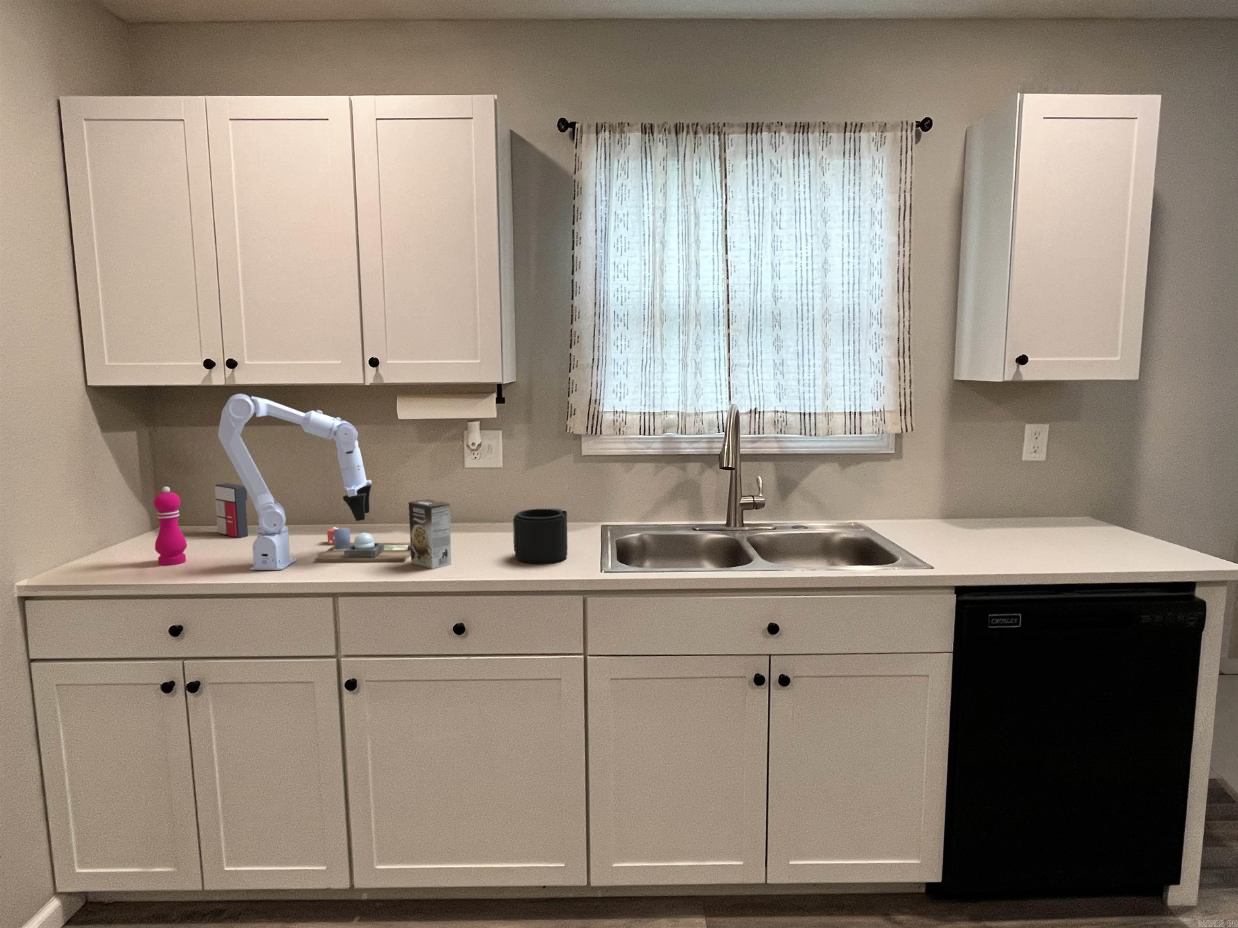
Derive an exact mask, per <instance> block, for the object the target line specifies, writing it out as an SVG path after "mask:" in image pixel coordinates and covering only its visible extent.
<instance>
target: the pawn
mask: <svg viewBox="0 0 1238 928" xmlns="http://www.w3.org/2000/svg"><path fill="white" fill-rule="evenodd" d="M339 528H340V529H335V530H334V540H335V549H337V550H343V549H347V548H348V547H350V543H351V532H350V531H351V529H350V528H347V527H339Z"/></svg>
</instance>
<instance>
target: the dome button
mask: <svg viewBox="0 0 1238 928" xmlns="http://www.w3.org/2000/svg"><path fill="white" fill-rule="evenodd" d="M353 543H354V546H355V549H373V548H374V543H375V540H374V537H373V535H372V534H370V533H368V532H362V533H358V535H356V536H355V538H354V540H353Z"/></svg>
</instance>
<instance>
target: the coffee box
mask: <svg viewBox="0 0 1238 928" xmlns="http://www.w3.org/2000/svg"><path fill="white" fill-rule="evenodd" d="M450 505H451V504H450V502H444V501H440V500H434V499H430V498H427V499H418V500H413V501H408V516H409V517H408V519H409V540H410V542H409V543H410V544H411V556H410V560H411V561H410V562H411V564H413V565H417V566H420V567H424V568H427V569H432V570H435V569H439V568H442V567H446V566H450V565H452V547H451V546H452V545H451V544H452V543H451V506H450Z"/></svg>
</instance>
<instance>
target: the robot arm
mask: <svg viewBox="0 0 1238 928" xmlns="http://www.w3.org/2000/svg"><path fill="white" fill-rule="evenodd" d="M254 414H255V416H256V418H259V417H260V418H261V417H266V416H271V417H275V418H277V419H280V420H284V421H287V422H291V423H292V424H293V423H294V424H297V425H300V426H301V428H302V430H303V431H304V432H305V433H308V434H311V435H315V436H317V437H321V438H323V439H326V440H332V439H333V440H334V441H335V444H336V450H337V453H336V455H337V459H338V463H339V469H340V472H341V476H342V477H341V478H342V481H343V489H345V491H347V495H346V494H345V495H344V496H342V500H343V501H344V502H345V503H346V504H347V506H348V507H349V509H350V511H351V513H352V515H353V517H354V519H355V521H356V522H359V521H360V522H361V521H364V520H366V514H368V513H370V495H371V489H372V485H371V484H372V482H373V481H372V480H371V479H367V477H366V472H365V467H364V463H363V457H362V454H361V448H360V447H359V441H358V436H359V432H358V431H357V429H356V427H355V426H354V425H353V424H351V422H347V421H346V420H342V418H340V417H336V418H335V417H332V416H330V415H327V414H323V411H322V410H319V409H316V410H310V411H307V412H302V411H300V410H297V409H294V408H291V407H289V406H286V405H283V404H280V403H278V402H275V401H273V400H270V399H266V398H263V397H257V396H253V395H251V397H250V396H249V395H247V394H244V393H237V394H233V395H232V396H230V397H229V399H228V400H227V402H226V404H225V405H224V406H223V408H222V411H221V415H220V416H221V417H220V421H219V427H218V431H217V432H218V433H217V437H218V440H219V441H220V444H221V445H222V447H223V449H224V450H225V452H226V455H227V457H228V458H229V460H230V461H231V463H232V465H233V468H234V469H235V471H236V473H237V475H238V476H239V479H240V480H241V483H242V484H243V486H245V488H246V490H247V495H248V496H249V497H250V499H251V502H252V504H253V506H254V508H255V510H256V512H257V515H258V517H257V518H258V519H257V521H258V524H259V528H257V531H256V532H257V533H256V534H257V537H256V538H255V540H254V541H253V543H252V558H253V566H251V567H250V568H249V569H250V570H252V571H263V570H265V571H269V570H270V571H272V570H273V571H275V570H277V571H278V570H284V569H285V568H286V567H288V566H290V565H292V564H293V563H294V562H296V561H297V558H293V557H292V558H291V554H290V539H289V538H290V536H289V526H286V521H287V519H286V512H285V508H284V507H283V505H282V504H280V503H279V502H277V500H276V499H275V498H274V496H273V495H272V493H271V492H270V489H269V488H268V486H267V484H266V482H265V480H264V478H263V476H262V474H261V473H260V470H259V469H258V467H257V465H256V463H255V462H254V459H253V457H252V456H251V454H250V451H249V450H248V448H247V446H246V444H245V442H244V440H243V438H242V437H241V434H242V432H243V430H244V427H245V425H246V423H247V422H248V421H249V420H250V419H251V418H252V417H253V415H254Z"/></svg>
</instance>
